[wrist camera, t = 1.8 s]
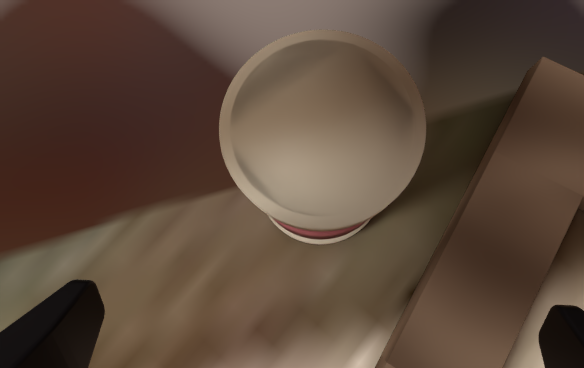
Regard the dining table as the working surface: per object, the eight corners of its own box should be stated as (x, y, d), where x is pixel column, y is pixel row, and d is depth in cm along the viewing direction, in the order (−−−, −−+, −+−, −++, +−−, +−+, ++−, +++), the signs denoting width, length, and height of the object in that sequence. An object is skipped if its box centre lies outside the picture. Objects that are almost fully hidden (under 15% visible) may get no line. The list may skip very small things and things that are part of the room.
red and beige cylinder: (399, 216, 20) (462, 178, 11) (287, 263, 20) (263, 261, 11) (350, 110, 21) (373, 0, 13) (243, 154, 21) (190, 75, 12)
